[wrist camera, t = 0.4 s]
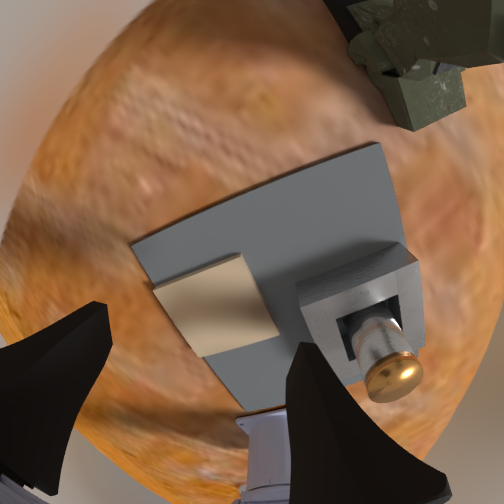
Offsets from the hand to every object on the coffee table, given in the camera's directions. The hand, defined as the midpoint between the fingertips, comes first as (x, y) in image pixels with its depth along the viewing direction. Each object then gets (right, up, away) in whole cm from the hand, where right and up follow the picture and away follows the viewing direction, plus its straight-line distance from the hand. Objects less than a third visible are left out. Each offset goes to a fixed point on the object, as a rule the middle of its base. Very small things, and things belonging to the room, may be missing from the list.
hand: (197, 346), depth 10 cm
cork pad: (-1, -1, +11) cm, 11 cm away
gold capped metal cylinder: (+10, -1, +11) cm, 15 cm away
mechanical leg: (+12, +16, +4) cm, 20 cm away
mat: (+6, -1, +11) cm, 13 cm away
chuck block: (+10, -1, +11) cm, 15 cm away
